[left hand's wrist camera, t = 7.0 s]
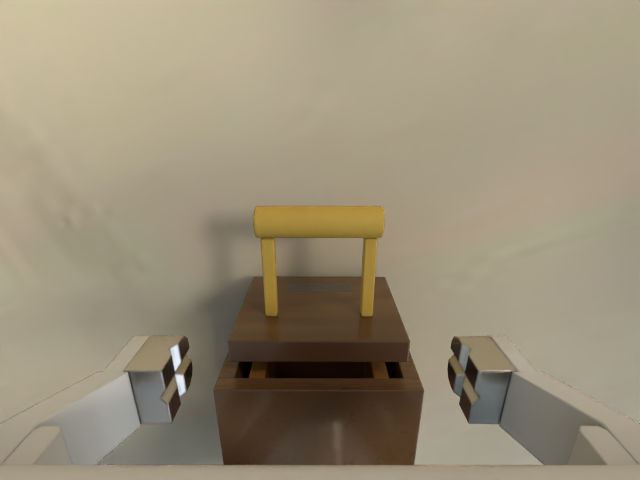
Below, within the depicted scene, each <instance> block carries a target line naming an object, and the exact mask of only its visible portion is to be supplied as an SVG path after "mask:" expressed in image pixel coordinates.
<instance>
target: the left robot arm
mask: <svg viewBox="0 0 640 480" xmlns="http://www.w3.org/2000/svg"><path fill="white" fill-rule="evenodd" d="M188 349H189V344H188V339H187V338H186V337H185V336H158V335H153V336H151V335H136V336H134V337H132V338H131V339H130V340H129V342H128V343H127V344H126V345H125V346H124V347H123V349H122V350H121V351H120V352H119V353H118V355H117V356H116V357H115V358H114V359H113V361H112V362H111V363H110V364H109V365H108V366H107V368H106V369H105V370H104V371H103V372H96V373H94V374H92V375H91V376H89V377H87V378H85V379H83V380H81V381H79V382H77V383H75V384H74V385H72V386H70V387H68V388H66V389H64V390H62V391H60V392H59V393H57V394H55V395H53V396H51V397H49V398H47V399H45V400H43V401H42V402H40V403H38V404H36V405H34V406H32V407H30V408H28V409H26V410H25V411H23V412H21V413H19V414H17V415H15V416H13V417H11V418H10V419H8V420H6V421H4V422H2V423H0V480H640V423H638V422H636V421H634V420H632V419H630V418H628V417H626V416H625V415H623V414H621V413H619V412H617V411H615V410H613V409H611V408H610V407H608V406H606V405H604V404H602V403H600V402H598V401H596V400H595V399H593V398H591V397H589V396H587V395H585V394H583V393H581V392H579V391H578V390H576V389H574V388H572V387H570V386H568V385H566V384H564V383H563V382H561V381H559V380H557V379H555V378H553V377H551V376H549V375H548V374H546V373H544V372H537V371H536V370H535V369H534V368H533V366H532V365H531V364H530V363H529V362H528V361H527V359H526V358H525V357H524V356H523V355H522V353H521V352H520V351H519V350H518V349H517V348H516V346H515V345H514V344H513V343H512V342H511V340H510V339H509V338H508V337H506V336H504V335H492V336H454V338H453V340H452V343H451V349H452V351H453V353H454V355H453V356H452V357H451V358H450V359H449V362H448V378H449V382H450V385H451V388H452V390H453V392H454V393H456V394H457V395H458V396H460V403H459V405H460V407H461V409H462V411H463V413H464V415H465V417H466V419H467V421H468V423H474V424H499V426H500V427H501V428H502V429H504V430H505V431H506V432H507V433H508V434H509V435H510V436H512V437H513V438H514V439H515V440H516V441H517V442H518V443H520V444H521V445H522V446H523V447H524V448H525V449H526V450H528V451H529V452H530V453H531V454H532V455H533V456H535V457H536V458H537V459H538V460H539V461H540V462H541V463H543V464H544V465H96V464H98V463H99V462H100V461H101V460H102V459H103V458H104V457H106V456H107V455H108V454H109V453H110V452H111V451H112V450H114V449H115V448H116V447H117V446H118V445H119V444H121V443H122V442H123V441H124V440H125V439H126V438H127V437H129V436H130V435H131V434H132V433H133V432H134V431H135V430H137V429H138V428H139V427H140V426H141V425H140V424H165V423H172V421H173V419H174V417H175V415H176V413H177V411H178V409H179V407H180V405H181V403H180V396H182V395H183V394H184V393H186V392H187V390H188V388H189V385H190V382H191V377H192V361H191V359H190V358H189V357H188V356H187V355H186V353H187V351H188Z"/></svg>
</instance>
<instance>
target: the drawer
mask: <svg viewBox="0 0 640 480" xmlns="http://www.w3.org/2000/svg"><path fill="white" fill-rule="evenodd" d="M384 224H385V219H384V210H383V207H381V206H257V207H256V208H255V211H254V232H255V235H256V237H258V238H261V251H262V266H263V277H254V278H253V280H252V283H251V285H250V288H249V290H248V293H247V295H246V298H245V300H244V303H243V305H242V308H241V310H240V313H239V315H238V318H237V320H236V322H235V325H234V327H233V330H232V332H231V335H230V337H229V340H228V348H229V357H230V361H231V362H253V363H252V367H251V371H250V374H249V378H389V376H388V372H387V368H386V364H385V362H408V356H409V347H410V340H409V338H408V335H407V333H406V330H405V328H404V325H403V322H402V320H401V317H400V315H399V312H398V310H397V307H396V304H395V302H394V299H393V297H392V294H391V292H390V289H389V287H388V284H387V281H386V279H385V277H375V270H376V254H377V238H381V237H382V236H383V233H384ZM275 238H363V258H362V277H277V274H276V253H275Z"/></svg>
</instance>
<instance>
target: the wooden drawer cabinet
mask: <svg viewBox="0 0 640 480" xmlns="http://www.w3.org/2000/svg"><path fill="white" fill-rule="evenodd" d="M252 363H253V362H231V361H230V357H229V352H228V354H227V357H226V359H225V362H224V365H223V367H222V370H221V373H220V375H219V378H218V380H217V383H216V385H215V388H214V397H215V404H216V412H217V419H218V426H219V434H220V441H221V448H222V456H223V463H224V465H414V461H415V454H416V447H417V439H418V432H419V425H420V418H421V410H422V403H423V396H424V389H423V386H422V384H421V381H420V379H419V376H418V373H417V370H416V368H415V365H414V362H413V359H412V357H411V354H410V351H409V356H408V362H385V364H386V368H387V372H388V376H389V378H249V374H250V371H251V367H252Z"/></svg>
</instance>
